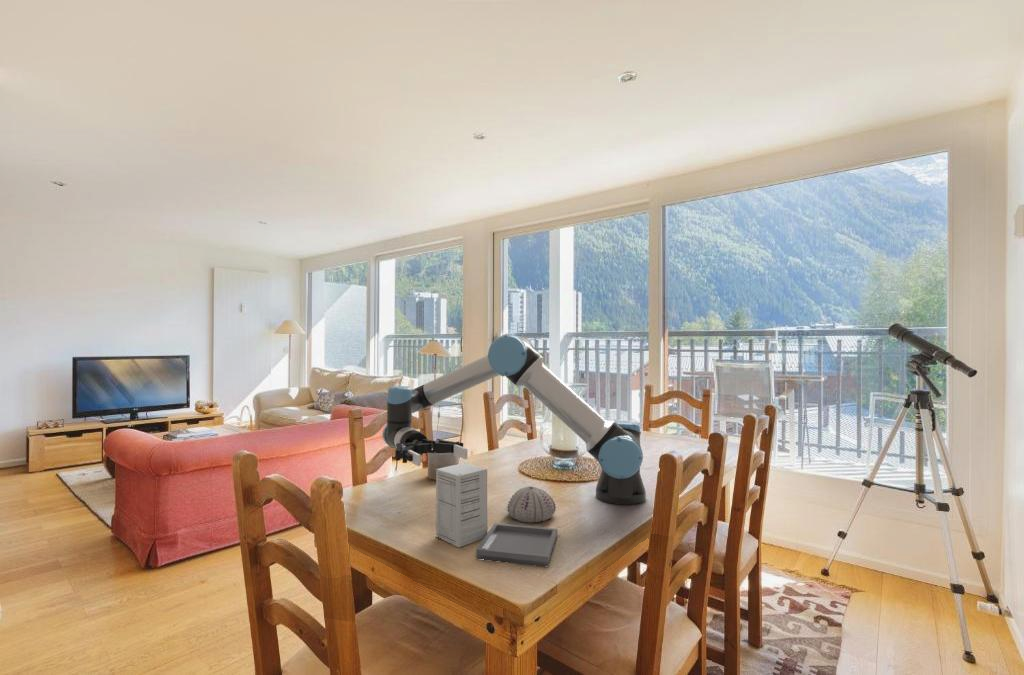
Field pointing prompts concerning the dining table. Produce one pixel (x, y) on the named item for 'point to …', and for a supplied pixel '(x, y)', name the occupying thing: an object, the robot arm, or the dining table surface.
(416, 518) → the dining table surface
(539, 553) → the tray
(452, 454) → the planter
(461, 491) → the supplement box
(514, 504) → the sea urchin shell
